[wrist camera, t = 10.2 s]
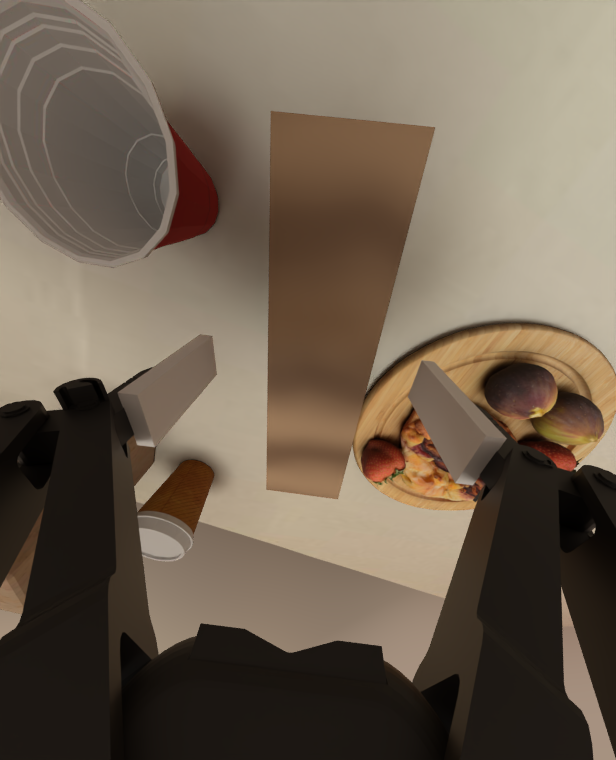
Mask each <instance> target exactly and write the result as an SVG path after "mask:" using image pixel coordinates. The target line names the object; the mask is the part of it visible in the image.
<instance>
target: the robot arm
mask: <svg viewBox="0 0 616 760" xmlns="http://www.w3.org/2000/svg"><path fill="white" fill-rule="evenodd" d="M216 375H217V372H216V363H215V355H214V347H213V338H212V336H208V335H199V336H197V337H196V338H195V339H193V340H192V341H190V342H189V343H187V344H186V345H185V346H183V347H182V348H180V349H179V350H177V351H176V352H175V353H173V354H172V355H170V356H169V357H167V358H166V359H165V360H163V361H162V362H160V363H159V364H157V365H156V366H155V367H153V368H152V367H151V368H149V369H146V370H144V371H141V372H139V373H138V374H136V375H135V376H133V378H130V379H129V380H127V381H126V383H123V384H122V385H120V386H119V387H117V388H116V389H114V390H113V391H111V392H110V393H108V394H107V392H106V390H105V387H104V385H103V383H102V381H101V380H100V379H97V378H82V379H77V380H73V381H69V382H67V383H64V384H62V385H60V386H59V387H57V388H56V389H55V390H54V394H55V395H56V397H57V399H58V401H59V403H60V405H61V406H62V408H63V410H52V411H46V410H45V408H44V406H43V405H42V403H41V402H40V401H35V400H27V401H20V402H13V403H12V404H7V405H4V406H3V407H1V408H0V587H1V586H2V584H3V582H4V580H5V578H6V576H7V574H8V573H9V571H10V569H11V567H12V565H13V563H14V562H15V560H16V558H17V556H18V554H19V552H20V551H21V549H22V547H23V545H24V543H25V541H26V540H27V538H28V536H29V534H30V532H31V530H32V528H33V527H34V525H35V523H36V521H37V519H38V517H39V516H40V514H41V512H42V510H43V508H44V510H43V515H42V519H41V524H40V529H39V534H38V539H37V544H36V549H35V554H34V558H33V563H32V568H31V573H30V578H29V583H28V588H27V593H26V597H25V602H24V607H23V612H22V616H21V619H20V622H19V624H18V625H17V627H16V628H15V629H14V630H12V631H11V632H9V633H8V634H6V635H5V636H3V637H2V638H1V640H0V760H593V750H592V742H591V736H590V731H589V726H588V724H587V721H586V719H585V717H584V715H583V713H582V711H581V710H580V709H579V708H578V707H577V706H576V705H575V704H574V703H573V702H572V701H571V700H569V698H568V696H567V694H566V692H565V687H564V673H563V638H562V603H561V587H562V590H563V593H564V596H565V599H566V603H567V606H568V609H569V612H570V615H571V618H572V621H573V625H574V628H575V631H576V634H577V637H578V640H579V643H580V647H581V650H582V653H583V656H584V659H585V663H586V666H587V669H588V672H589V675H590V678H591V682H592V684H593V688H594V691H595V694H596V697H597V700H598V703H599V707H600V710H601V713H602V716H603V719H604V722H605V726H606V729H607V732H608V735H609V738H610V742H611V744H612V748H613V751H614V754H615V757H616V475H615V474H613V473H611V472H609V471H606V470H603V469H601V468H598V467H595V466H591V465H584V466H582V467H581V468H580V469H579V470H578V471H577V472H576V473H574V472H570V471H567V470H564V469H561V468H558V467H557V466H556V464H555V463H554V462H553V461H552V460H551V459H550V458H549V457H548V456H546V455H545V454H543V453H542V452H540V451H538V450H536V449H534V448H531V447H528V446H524V445H519V444H518V443H517V442H516V441H515V440H514V439H513V438H512V437H511V436H510V435H509V434H508V433H507V432H506V431H505V430H504V429H503V428H502V427H501V426H499V424H498V423H497V422H496V421H495V420H494V418H493V417H492V416H491V415H490V414H489V413H488V412H487V411H485V410H484V409H482V408H481V407H479V406H478V405H475V404H474V403H473V402H472V401H471V400H470V399H469V398H468V397H467V396H466V395H465V394H464V393H463V392H462V391H461V390H460V388H459V387H458V386H457V385H456V384H455V383H454V382H453V381H452V380H451V379H450V378H449V377H448V376H447V375H446V374H445V373H444V372H443V370H442V369H441V368H440V367H439V366H438V365H437V364H436V363H435V362H433V361H425V360H422V361H421V364H420V366H419V369H418V371H417V374H416V377H415V379H414V382H413V384H412V387H411V390H410V392H409V395H408V398H409V400H410V402H411V403H412V405H413V407H414V409H415V411H416V413H417V414H418V416H419V418H420V420H421V422H422V424H423V425H424V427H425V429H426V431H427V433H428V434H429V436H430V438H431V440H432V442H433V444H434V445H435V447H436V449H437V451H438V453H439V455H440V456H441V458H442V460H443V462H444V464H445V465H446V467H447V469H448V471H449V473H450V475H451V476H452V478H453V480H454V482H455V483H458V484H466V485H474V483H475V482H476V480H477V479H478V478H479V476H480V477H481V478H482V479H483V481H484V482H485V485H484V486H483V488H482V489H481V490H480V491H479V493H478V494H477V495H476V497H475V498H474V499H473V501H474V502H476V501H477V503H476V506H475V509H474V512H473V515H472V519H471V522H470V525H469V528H468V531H467V534H466V537H465V540H464V543H463V546H462V549H461V552H460V555H459V558H458V561H457V564H456V568H455V571H454V574H453V577H452V580H451V583H450V586H449V589H448V592H447V595H446V598H445V601H444V604H443V607H442V610H441V613H440V617H439V620H438V623H437V626H436V629H435V632H434V635H433V638H432V641H431V644H430V647H429V650H428V652H427V654H426V656H425V657H424V659H423V661H422V662H421V664H420V666H419V668H418V670H417V672H416V674H415V676H414V679H413V682H411V681H410V680H409V679H407V678H406V677H405V676H404V675H403V674H402V673H401V672H400V671H399V670H397V669H396V668H395V667H393V666H392V665H390V664H389V663H388V662H385V661H384V660H383V653H382V647H381V646H376V645H368V644H360V643H351V642H344V641H334V642H330V643H327V644H323V645H320V646H316V647H312V648H309V649H305V650H301V651H297V652H294V653H288V652H285V651H283V650H281V649H280V648H278V647H276V646H274V645H273V644H271V643H269V642H267V641H265V640H263V639H262V638H260V637H258V636H256V635H255V634H253V633H251V632H249V631H247V630H245V629H240V628H232V627H225V626H216V625H209V624H200V627H199V630H198V634H197V636H195V637H191V638H189V639H186V640H184V641H181V642H179V643H177V644H175V645H174V646H172V647H170V648H168V649H167V650H165V651H163V652H162V653H161V654H158V648H157V642H156V637H155V633H154V630H153V626H152V623H151V620H150V615H149V609H148V600H147V592H146V583H145V575H144V566H143V559H142V550H141V541H140V533H139V524H138V516H137V508H136V499H135V491H134V482H133V474H132V465H131V457H130V449H129V445H128V443H127V441H128V440H129V439H130V438H131V437H132V436H133V435H134V437H135V440H136V442H137V445H140V446H149V447H156V445H157V444H158V443H159V442H160V441H161V439H162V438H163V437H164V436H165V435H166V434H167V432H168V431H169V430H170V429H171V428H172V427H173V425H174V424H175V423H176V422H177V421H178V419H179V418H180V417H181V416H182V415H183V414H184V412H185V411H186V410H187V409H188V408H189V407H190V405H191V404H192V403H193V402H194V401H195V399H196V398H197V397H198V396H199V395H200V394H201V392H202V391H203V390H204V389H205V388H206V387H207V385H208V384H209V383H210V382H211V381H212V379H213V378H214V377H215V376H216ZM17 462H18V463H17ZM595 527H596V530H595V533H594V534H593V532H592V530H593V529H594V528H595Z"/></svg>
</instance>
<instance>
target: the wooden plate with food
mask: <svg viewBox="0 0 616 760" xmlns="http://www.w3.org/2000/svg"><path fill="white" fill-rule="evenodd" d="M422 360H425V361H433V362H435V363H436V364H437V365H438V366H439V367H440V368H441V369H442V370H443V372H444V373H445V374H446V375H447V376H448V377H449V378H450V379H451V380H452V381H453V382H454V383H455V384H456V385H457V386H458V387H459V388H460V390H461V391H462V392H463V393H464V394H465V395H466V396H467V397H468V398H469V399H470V400H471V401H472V402H473V403H474V404H475V405H478V406H479V407H481V408H482V409H484V410H485V411H487V412H488V413H489V414H490V415H491V416H492V417H493V418H494V420H495V421H496V422H497V423H498V424H499V426H501V427H502V428H503V429H504V430H505V431H506V432H507V433H508V434H509V435H510V436H511V437H512V438H513V439H514V440H515V441H516V442H517V443H518V444H519V445H524V446H528V447H531V448H534V449H536V450H538V451H540V452H542V453H543V454H545V455H546V456H548V457H549V458H550V459H551V460H552V461H553V462H554V463H555V464H556V466H557V467H558V468H561V469H564V470H567V471H570V472H574V473H576V470H574V468H575V467H577V465H578V464H579V462H581V461H582V460H583V459H584V458H585V457H586V456H587V455H588V454H589V453H590V452H591V451H592V450H593V449H594V448H595V447H596V445H597V444H598V443H599V442H600V440H601V439H602V438H603V436H604V435H605V433H606V432H607V430H608V428H609V426H610V424H611V422H612V420H613V417H614V415H615V412H616V374H615V371H614V369H613V367H612V366H611V364H610V363H609V361H608V360H607V358H606V357H605V356H604V355H603V353H602V352H601V351H600V350H598V349H597V348H596V347H595V346H594V345H592V344H591V343H590V342H588V341H587V340H585V339H584V338H582V337H580V336H577V335H575V334H573V333H570V332H567V331H564V330H561V329H558V328H554V327H550V326H545V325H539V324H529V323H505V324H494V325H487V326H482V327H476V328H472V329H468V330H464V331H460V332H457V333H454V334H452V335H449V336H446V337H444V338H442V339H439V340H437V341H435V342H433V343H431V344H429V345H427V346H425V347H423V348H421V349H419V350H418V351H416V352H414V353H412V354H411V355H409V356H408V357H406V358H405V359H403V360H402V361H401V362H399V363H398V364H397V365H395V366H394V367H393V368H392V369H391V370H389V371H388V372H387V373H386V374H385V375H384V376H383V377H382V378H381V379H380V380H379V381H378V382H377V383H376V385H375V386H374V387H373V388H372V390H371V391H370V393H369V394H368V395H367V397H366V398H365V400H364V402H363V405H362V409H361V413H360V416H359V420H358V424H357V428H356V432H355V435H354V439H353V443H352V445H353V451H354V456H355V459H356V462H357V465H358V466H359V468H360V470H361V472H362V473H363V475H364V476H365V477H366V478H367V480H368V481H369V482H370V483H371V484H372V485H373V486H374V487H375V488H376V489H378V490H379V491H380V492H382V493H383V494H385V495H387V496H389V497H391V498H393V499H395V500H397V501H399V502H402V503H405V504H408V505H411V506H415V507H419V508H425V509H433V510H468V509H475V506H476V503H477V501H476V502H474V501H473V499H474V498H475V497H476V495H477V494H478V493H479V491H480V490H481V489H482V488H483V486H484V485H485V482H484V481H483V479H482V478H481V477H480V476H479V478H478V479H477V480H476V482H475V483H474V485H466V484H458V483H455V482H454V480H453V478H452V476H451V475H450V473H449V471H448V469H447V467H446V465H445V464H444V462H443V460H442V458H441V456H440V455H439V453H438V451H437V449H436V447H435V445H434V444H433V442H432V440H431V438H430V436H429V434H428V433H427V431H426V429H425V427H424V425H423V424H422V422H421V420H420V418H419V416H418V414H417V413H416V411H415V409H414V407H413V405H412V403H411V402H410V400H409V398H408V395H409V392H410V390H411V387H412V384H413V382H414V379H415V377H416V374H417V371H418V369H419V366H420V364H421V361H422Z"/></svg>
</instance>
